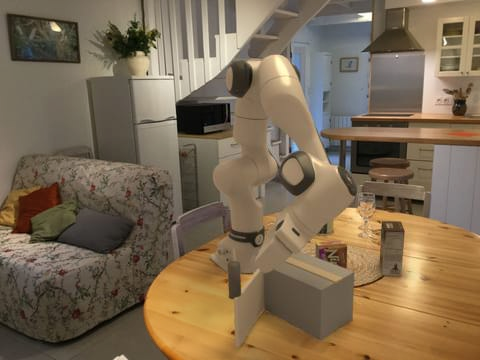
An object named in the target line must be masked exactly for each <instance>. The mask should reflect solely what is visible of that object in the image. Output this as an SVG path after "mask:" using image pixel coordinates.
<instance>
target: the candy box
mask: <svg viewBox="0 0 480 360" xmlns="http://www.w3.org/2000/svg"><path fill="white" fill-rule="evenodd" d="M315 257H316V258H319V259H321V260H324V261H327V262H329V263H332V264H335V265H337V266H340V267H343V268H345V269H348V244H347V243H346V242H345V240H335V241H334V240H333V241H324V242H323V241H322V242H321V241H319V242H315Z"/></svg>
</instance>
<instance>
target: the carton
mask: <svg viewBox="0 0 480 360" xmlns="http://www.w3.org/2000/svg"><path fill="white" fill-rule="evenodd" d="M354 289H355V271H353V270H351V269H348V268H347V269H345V268H343V267H340V266H337V265H335V264H332V263H329V262H327V261H324V260H321V259H319V258H316V256H313V255H310V254H307V253H304V252H302V251H300V252H299V253H298V254H297V255H295V254H294V253H293V254H292V255H291V256H290V257H289V258H288V259H287V260H285V261H284V262H283V263H281V264H280V265H279V266H277V267H276V268H275V269H273V270H272V271H270V272H268V273H264V310H263V311H265V312H266V313H269V314H270V315H272V316H275V317H276V318H278V319H279V320H282V321H283V322H285V323H287V324H289V325H291V326H293V327H294V328H296V329H298V330H300V331H302V332H304V333H305V334H307V335H308V336H311V337H312V338H314V339H316V340H318V341H320V342H321V341H322V340H324V339H326V338H327V337H328V336H330V335H331V334H333V333H334V332H336V331H337V330H339V329H340V328H342V327H343V326H345V325H346V324H348V323H349V322H350V321H352V320H353V318H354V317H353V316H354V315H353V314H354V295H355V294H354V291H355V290H354Z"/></svg>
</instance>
